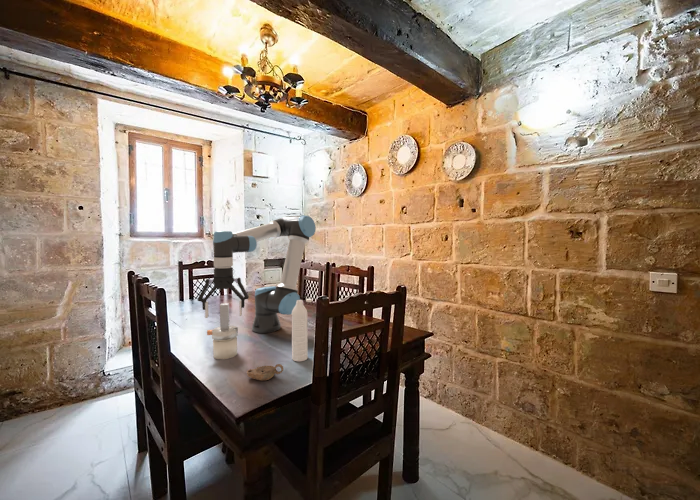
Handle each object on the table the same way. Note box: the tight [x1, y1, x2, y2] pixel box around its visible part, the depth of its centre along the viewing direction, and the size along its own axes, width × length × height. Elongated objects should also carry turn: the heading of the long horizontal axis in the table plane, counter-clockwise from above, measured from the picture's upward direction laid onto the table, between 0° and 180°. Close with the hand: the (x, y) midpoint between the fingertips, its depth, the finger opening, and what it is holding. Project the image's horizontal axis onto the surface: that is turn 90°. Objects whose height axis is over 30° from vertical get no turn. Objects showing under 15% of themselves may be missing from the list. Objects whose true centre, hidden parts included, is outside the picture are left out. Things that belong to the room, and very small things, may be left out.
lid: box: [206, 302, 239, 340], centre depth 132 cm, size 12×10×14 cm
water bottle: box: [291, 298, 313, 363], centre depth 129 cm, size 9×6×25 cm
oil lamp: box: [246, 363, 284, 381], centre depth 113 cm, size 13×8×5 cm, turn 90°
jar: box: [212, 336, 238, 360], centre depth 133 cm, size 10×10×8 cm
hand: (224, 316), depth 132 cm, fingers open, 13 cm apart
